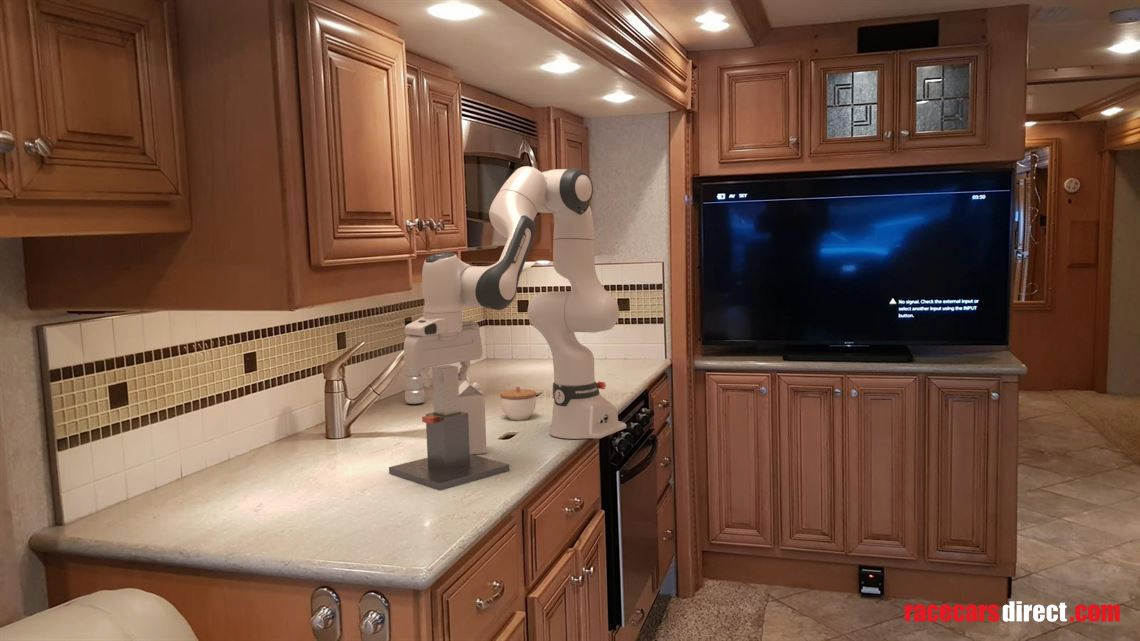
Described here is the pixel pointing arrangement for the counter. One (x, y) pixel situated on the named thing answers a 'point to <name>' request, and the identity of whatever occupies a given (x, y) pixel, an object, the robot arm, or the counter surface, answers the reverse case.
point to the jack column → (445, 390)
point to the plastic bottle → (414, 386)
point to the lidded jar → (518, 403)
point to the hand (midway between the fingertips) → (445, 383)
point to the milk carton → (474, 415)
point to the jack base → (448, 456)
